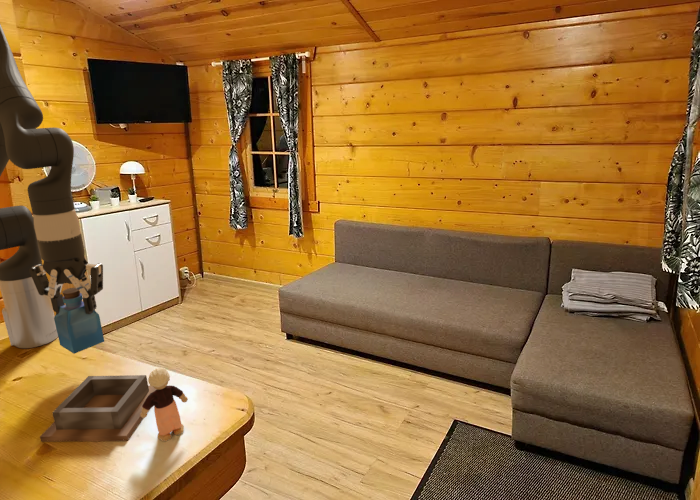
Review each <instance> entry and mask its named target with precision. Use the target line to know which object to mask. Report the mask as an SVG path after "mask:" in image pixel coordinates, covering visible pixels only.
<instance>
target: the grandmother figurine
mask: <svg viewBox="0 0 700 500" xmlns="http://www.w3.org/2000/svg"><path fill="white" fill-rule="evenodd" d="M170 378H171V376H170V373H169V372H168V370H167V368H165V367H157V368H155V369H153V370H152V371H150V374H149V375H148V377H147V382H148V385H149V386H151V387H154V388H155V389H157V390H155V391H154V392H152V393H150V394H149V395H148V397H147V398H146V400H145V402H144V404H143V405H142V407H143V408H142V412H141V414H140V416H141V417H142V418H143V419H144V418H146V417H147V416H148V412H149V411H150V410H151V409H153V407H154V410H153V411H154V417H155V422H156V423H155V424H156V427H157V431H158V433H157V438H158V439H159V440H161V441H162V442H167V441H169V440H171V438H172V434H171V433H173V435H176V436H178V435H182V434H183V433H184V431H185V428H184V424H183V423H182V421H181V416H180V412H179V408H178V405H177V403H176V401H175V399H174V397H177V398H178V399H180V400H181V402H182V403H185V404H186V403H187V402H188V399H189V398H188V397H187V396H186V394H185V393H184V391H183V390H181V389H180V388H178V387H177V386H175V385H168V384H169V382H170ZM181 433H182V434H181Z"/></svg>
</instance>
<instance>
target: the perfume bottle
mask: <svg viewBox="0 0 700 500" xmlns="http://www.w3.org/2000/svg"><path fill="white" fill-rule="evenodd" d="M61 294H62V295H63V302H64V304H65V305H63V306H60V308H59V313H58V314H56V313H55V314H54V316H55V317H54V321H55V325H56V329H57V334H58V337H57V338H58V342H59V345H60V346H61V347H62V348H65V349H66V350H67V351H69V352H71V353H72V354H73V355H75V354H77V353H79V352H83V351H85V350H87V349H89V348H92V347H94V346H97V345H100V344H101V343H105V338H104V333H103V328H102V323H101V317H100V314H99V313H98V312H97V311H96V309H95V310H94V311H93V313H91V314H86V311H85V307H84V302H83V298H84V297H83V295H82V294H81V292H80V291H79V290H78V289H76V288H75V287H70V288H66V289H64V290H63V291H62V290H61Z"/></svg>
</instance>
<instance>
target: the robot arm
mask: <svg viewBox="0 0 700 500" xmlns="http://www.w3.org/2000/svg"><path fill="white" fill-rule="evenodd" d="M43 120H44V114H43V111H42V109H41V107H40V106H39V105H38V103H37V101H36V99H35V97H34V96H33V95H32V92H31V91H30V90H29V87H28V86H27V85H26V82H25V81H24V79H23V77H22V75H21V72H20V69H19V67H18V65H17V62H16V59H15V57H14V54H13V52H12V49H11V47H10V44H9V42H8V39H7V37H6V34H5V31H4V29H3V27H2V25H1V23H0V177H1V176H2V174H3V172H4V170H5V169H6V167H7V166H8V165H7V164H8V163H9V161H10V162H11V163H12V164H13V165H15V166H16V167H18V168H20V169H24V170H33V169H42V168H43V169H44V168H50V170H49V173H48V175H47V176H46V177H44V178H40V179H38V180H35V181H34V182H31V183H30V184H29V185H28V186H27V195H28V199H29V203H30V208H31V210H30V209H29V208H27V206H25V205H14V206H13V205H12V206H6V207H1V208H0V251H4V250H8V249H11V248H17V247H18V250H17V251H16V252H15V253H14V254H13V255H12V256H10V257H9V258H7V259H5V260H3V261H2V262H0V292H1V296H2V301H3V305H4V307H3V308H2V310H1V313H2V316H3V317H2V318H3V321H4V324H5V329H6V331H7V335H8V338H9V342H10V346H15V347H16V348H19V349H32V348H36V347H41V346H44V345H47V344H49V343H51V342H53V341H55V340H56V339H57V338H58V334H57V329H56V325H55V321H54V317H55V315H56V314H58V313H59V308H60V306H63V305H66V304H65V303H64V302H63V297H64V295H63V293H62V289H63V285H65V284H69V285H73V288H76V289H78V290H79V291H80V293H81V294H82V297H83V299H82V301H83V302H84V307H85V311H86V314H91V313H93V311H94V310H95V311H96V309H97V302H96V295H97V294H98V293H100V292H101V291H102V290H103V289H104V265H103V264H102V263H101V262H99V263H97V264H92V263H89V262H88V261H87V259H86V257H85V255H86V254H85V252H86V251H85V246H84V241H83V236H82V235H83V234H82V230H81V226H80V221H79V218H78V214H77V213H76V208H75V203H74V198H73V193H72V171H73V164H74V157H75V156H74V155H75V154H74V153H75V151H74V143H73V140H72V138H71V136H69V134H68V133H67V132H66V131H65V130H64V129H62V128H60V127H42V128H41V127H40V126H41V125H42V123H43ZM38 127H40V128H38ZM86 272H88V275H87V273H86ZM48 275H49V277H50V278H48ZM89 276H90V277H89Z"/></svg>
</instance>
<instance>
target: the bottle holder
mask: <svg viewBox="0 0 700 500" xmlns="http://www.w3.org/2000/svg"><path fill="white" fill-rule="evenodd" d="M155 390H157V389H155V388H154V387H151V386H150V385H149V382H148V377H147V375H145V374H141V375H140V374H138V375H137V374H135V375H131V374H130V375H125V374H124V375H88V376H87V377H86V378H85V379H84V380H83V381H82V382H80V384H79V385H78V386H77V387H76V388H75V389H74V390H72V392H71V393H70V394H69V395H68V396H67V397H66V398H65V399H64V400H62V402H61V403H60V404H59V405H57V407H56V408H55V409H54V410H53V411H52V418H53V423H51V424H50V425H49V427H48V428H47V429H46V430H45V431H44V432H43V433H41V434H40V436H39V439H40V442H46V443H47V442H113V441H114V442H119V441H120V442H121V441H122V442H124V441H128V440H130V438H131V436H132V434H133V433H134V432H135V430H136V429H137V427H138V426H139V425H140V423H141V422H142V421H143V419H144V418H142V417H141V416H140V414H141V412H142V408H143V407H142V405H143V404H144V402H145V400H146V398H147V397H148V395H149V394H150V393H152V392H154V391H155Z"/></svg>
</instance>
